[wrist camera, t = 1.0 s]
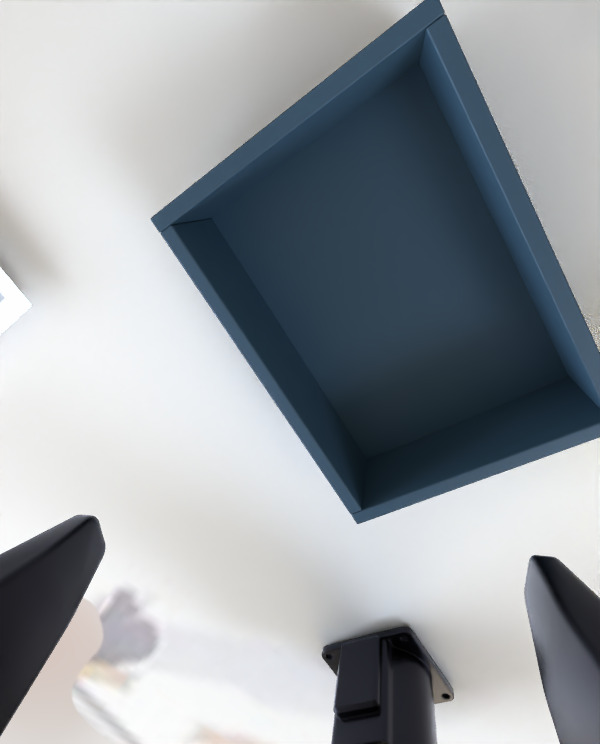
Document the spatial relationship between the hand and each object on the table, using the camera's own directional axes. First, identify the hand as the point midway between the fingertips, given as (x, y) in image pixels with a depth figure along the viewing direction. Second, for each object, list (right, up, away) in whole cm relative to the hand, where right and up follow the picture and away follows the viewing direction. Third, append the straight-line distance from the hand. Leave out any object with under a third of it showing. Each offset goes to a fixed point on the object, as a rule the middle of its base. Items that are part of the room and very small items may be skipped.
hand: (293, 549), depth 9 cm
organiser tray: (+4, +7, +11) cm, 14 cm away
